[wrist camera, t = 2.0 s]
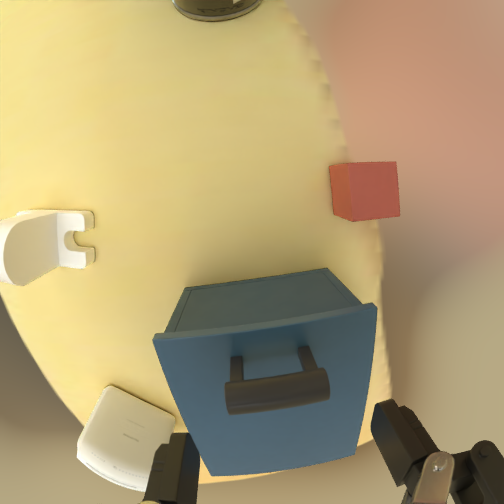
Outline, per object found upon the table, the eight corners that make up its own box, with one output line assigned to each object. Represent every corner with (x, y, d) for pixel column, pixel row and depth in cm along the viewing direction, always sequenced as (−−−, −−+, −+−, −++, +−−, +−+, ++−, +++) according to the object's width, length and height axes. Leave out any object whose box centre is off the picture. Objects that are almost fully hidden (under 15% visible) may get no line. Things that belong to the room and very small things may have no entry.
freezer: (184, 287, 26) (158, 343, 16) (327, 267, 26) (371, 312, 16) (215, 405, 29) (211, 469, 20) (328, 388, 30) (352, 448, 20)
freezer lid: (154, 333, 16) (130, 384, 11) (372, 301, 16) (413, 341, 11) (211, 470, 20) (209, 511, 15) (352, 449, 20) (367, 487, 15)
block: (328, 165, 23) (347, 163, 19) (372, 163, 24) (396, 161, 19) (333, 214, 25) (352, 221, 20) (376, 210, 25) (400, 216, 20)
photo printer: (181, 415, 30) (166, 494, 18) (169, 430, 31) (154, 503, 19) (108, 378, 28) (69, 450, 16) (101, 396, 29) (67, 463, 17)
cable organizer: (26, 209, 23) (-37, 224, 13) (93, 211, 23) (28, 229, 14) (28, 255, 24) (-30, 283, 14) (95, 263, 25) (37, 303, 15)
